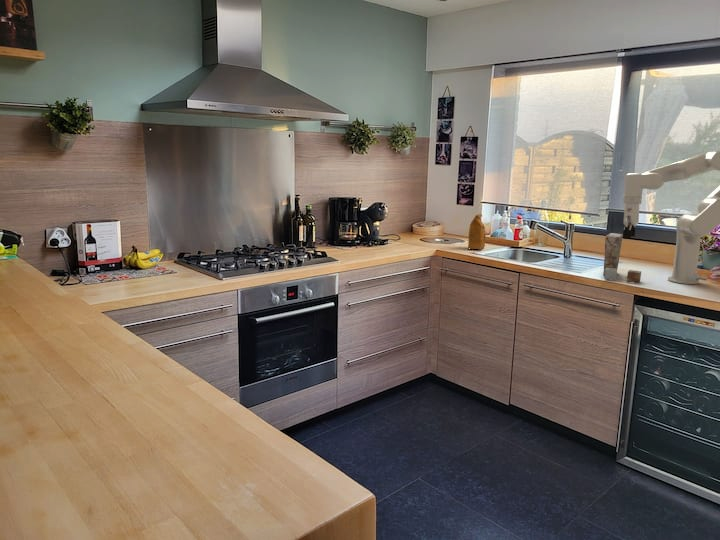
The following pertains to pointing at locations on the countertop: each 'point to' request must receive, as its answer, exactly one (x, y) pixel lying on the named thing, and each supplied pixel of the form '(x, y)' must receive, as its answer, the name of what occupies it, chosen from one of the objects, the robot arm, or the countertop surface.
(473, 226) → the coffee package
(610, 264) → the stone block
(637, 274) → the walnut cube
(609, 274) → the slate grey cube
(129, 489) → the countertop surface
